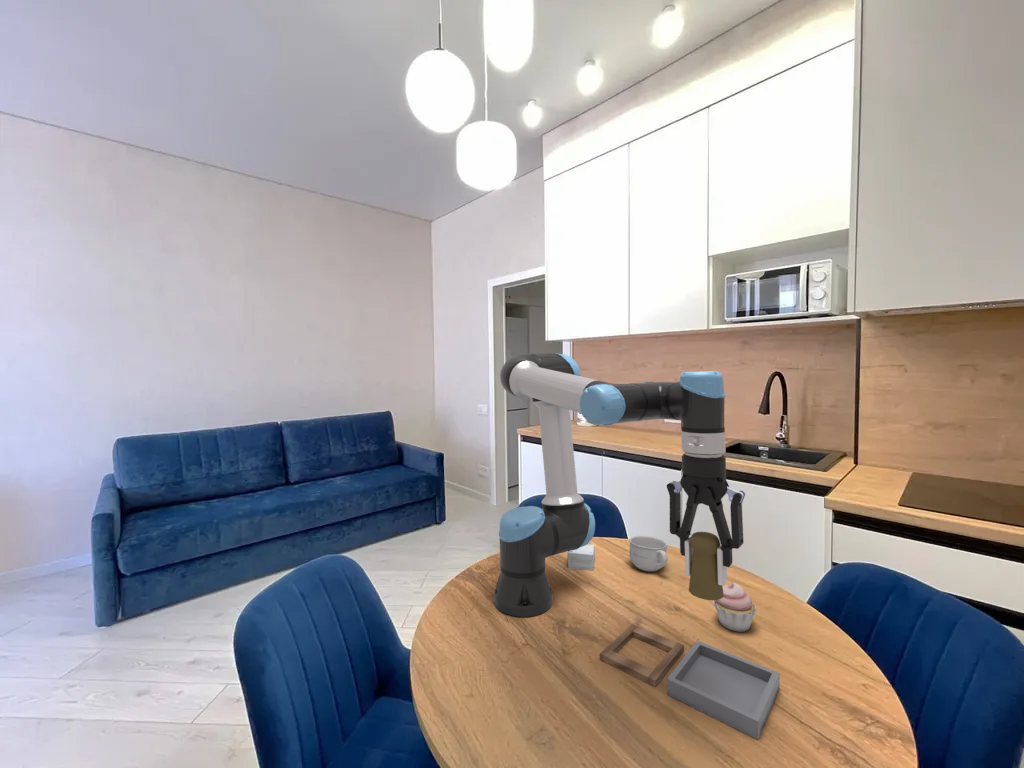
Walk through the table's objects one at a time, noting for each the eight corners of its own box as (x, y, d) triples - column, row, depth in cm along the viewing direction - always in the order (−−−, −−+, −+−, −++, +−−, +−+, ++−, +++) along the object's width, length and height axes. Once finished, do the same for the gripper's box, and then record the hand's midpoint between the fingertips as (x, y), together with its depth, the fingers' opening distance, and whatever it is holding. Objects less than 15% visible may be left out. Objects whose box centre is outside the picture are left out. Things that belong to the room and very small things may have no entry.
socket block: (599, 659, 91) (599, 653, 91) (631, 629, 101) (631, 623, 101) (655, 686, 83) (655, 680, 83) (684, 650, 93) (684, 645, 93)
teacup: (624, 560, 137) (624, 535, 137) (657, 558, 139) (657, 533, 138) (642, 582, 124) (642, 553, 123) (679, 579, 125) (679, 551, 124)
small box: (595, 560, 138) (595, 544, 138) (593, 571, 131) (593, 554, 131) (570, 558, 140) (570, 542, 140) (567, 569, 133) (567, 552, 133)
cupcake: (707, 611, 108) (707, 571, 108) (749, 615, 106) (749, 574, 106) (717, 634, 99) (717, 590, 99) (763, 638, 97) (763, 594, 97)
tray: (667, 694, 81) (667, 678, 81) (697, 654, 92) (697, 640, 92) (758, 739, 71) (758, 721, 71) (779, 688, 82) (779, 672, 82)
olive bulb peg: (727, 601, 79) (726, 540, 79) (691, 598, 80) (690, 538, 80) (719, 585, 85) (718, 528, 85) (686, 583, 86) (684, 527, 86)
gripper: (648, 452, 86) (650, 570, 86) (751, 462, 73) (754, 601, 74) (664, 446, 91) (667, 558, 91) (763, 455, 79) (765, 585, 79)
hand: (705, 577), depth 83 cm, fingers closed on olive bulb peg, 5 cm apart
